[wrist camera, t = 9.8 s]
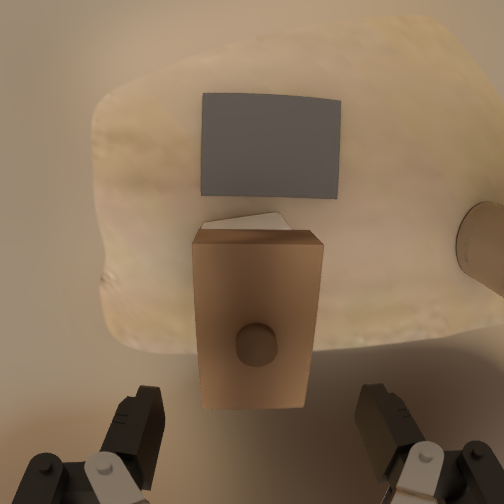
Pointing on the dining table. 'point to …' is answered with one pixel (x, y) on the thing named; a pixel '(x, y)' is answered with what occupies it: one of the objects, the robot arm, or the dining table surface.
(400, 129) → the dining table surface
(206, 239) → the lid
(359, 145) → the dining table surface
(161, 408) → the robot arm
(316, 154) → the mat
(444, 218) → the dining table surface
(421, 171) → the dining table surface
